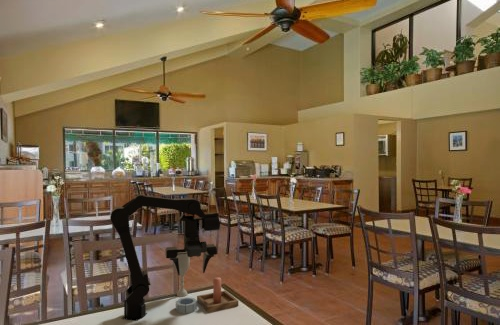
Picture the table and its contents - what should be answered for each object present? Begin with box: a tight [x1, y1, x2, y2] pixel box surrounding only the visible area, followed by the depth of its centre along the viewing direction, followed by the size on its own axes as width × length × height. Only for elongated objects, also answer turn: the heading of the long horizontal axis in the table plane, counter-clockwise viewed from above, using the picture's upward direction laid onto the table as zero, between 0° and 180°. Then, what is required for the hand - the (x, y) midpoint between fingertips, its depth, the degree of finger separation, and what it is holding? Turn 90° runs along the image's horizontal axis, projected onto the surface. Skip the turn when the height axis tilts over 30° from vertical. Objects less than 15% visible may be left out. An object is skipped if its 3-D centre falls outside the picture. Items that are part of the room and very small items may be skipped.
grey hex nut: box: [175, 296, 198, 315], centre depth 124 cm, size 7×7×3 cm
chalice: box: [173, 254, 191, 298], centre depth 138 cm, size 7×7×18 cm
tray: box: [196, 290, 239, 314], centre depth 129 cm, size 12×12×2 cm
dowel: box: [212, 276, 222, 304], centre depth 129 cm, size 3×3×9 cm
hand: (191, 274), depth 126 cm, fingers open, 9 cm apart
